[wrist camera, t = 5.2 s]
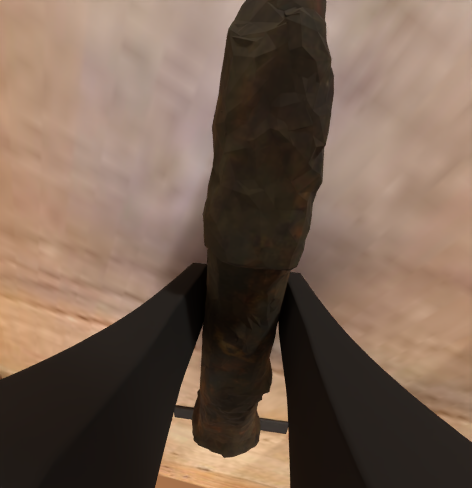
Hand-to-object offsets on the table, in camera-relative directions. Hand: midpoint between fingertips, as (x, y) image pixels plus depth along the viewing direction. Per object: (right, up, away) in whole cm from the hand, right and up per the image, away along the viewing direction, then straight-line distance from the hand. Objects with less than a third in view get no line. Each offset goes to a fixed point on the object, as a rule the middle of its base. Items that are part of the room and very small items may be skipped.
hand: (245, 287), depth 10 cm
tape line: (-1, -12, +8) cm, 15 cm away
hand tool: (0, 0, +2) cm, 2 cm away
